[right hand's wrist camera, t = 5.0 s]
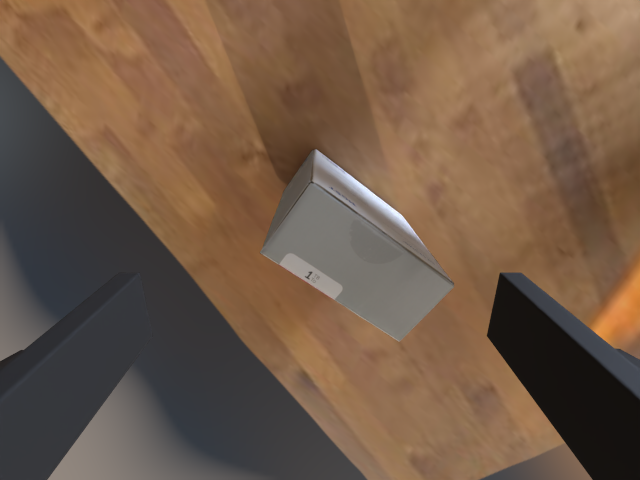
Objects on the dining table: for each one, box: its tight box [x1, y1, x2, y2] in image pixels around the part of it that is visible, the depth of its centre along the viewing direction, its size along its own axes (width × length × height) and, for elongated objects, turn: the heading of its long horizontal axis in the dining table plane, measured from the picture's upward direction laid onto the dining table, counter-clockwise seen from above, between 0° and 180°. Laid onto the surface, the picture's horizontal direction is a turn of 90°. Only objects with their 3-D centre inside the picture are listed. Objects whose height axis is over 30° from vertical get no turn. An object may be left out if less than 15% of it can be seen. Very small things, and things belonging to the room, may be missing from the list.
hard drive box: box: [260, 149, 454, 341], centre depth 38 cm, size 16×8×20 cm, turn 54°
